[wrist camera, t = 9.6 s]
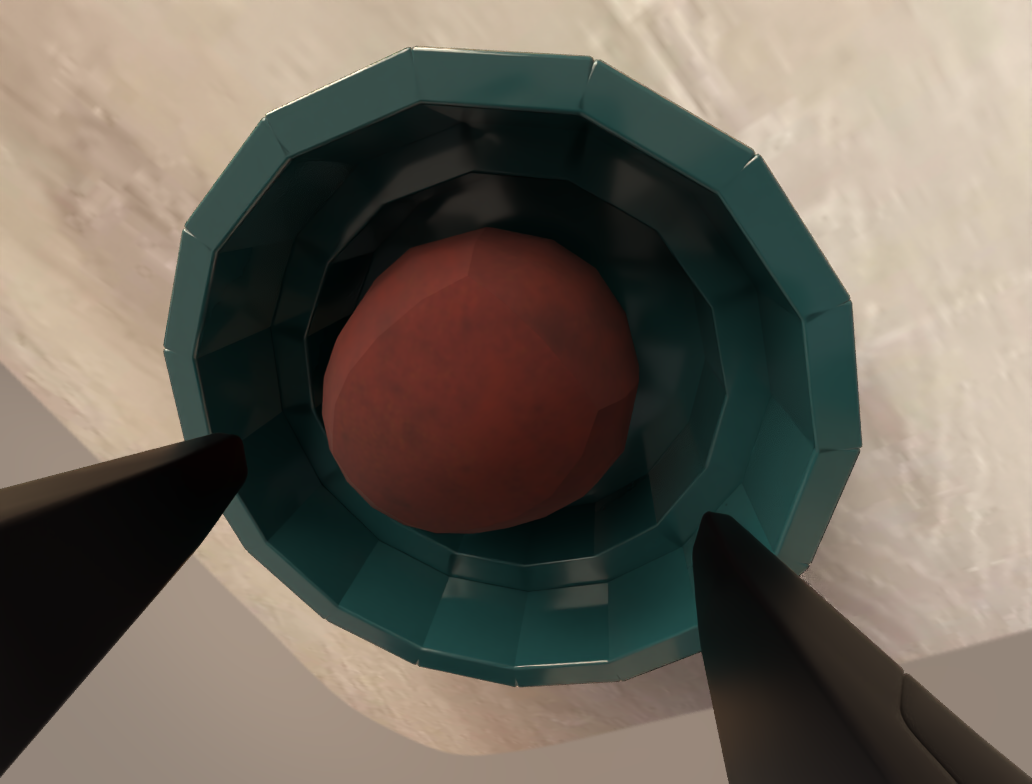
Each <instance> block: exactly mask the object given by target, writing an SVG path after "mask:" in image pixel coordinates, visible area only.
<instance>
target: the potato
mask: <svg viewBox="0 0 1032 784" xmlns="http://www.w3.org/2000/svg"><path fill="white" fill-rule="evenodd" d="M638 384H639V364H638V360H637V356H636V352H635V348H634V344H633V340H632V336H631V332H630V328H629V324H628V321H627V317H626V313H625V311H624V310H623V308H622V307H621V305H620V304H619V302H618V301H617V299H616V298H615V296H614V295H613V293H612V292H611V290H610V289H609V287H608V286H607V284H606V283H605V281H604V280H603V278H602V277H601V275H600V274H599V272H598V271H597V269H596V268H595V267H593V266H592V265H590V264H589V263H587V262H586V261H584V260H583V259H581V258H580V257H578V256H577V255H575V254H574V253H572V252H571V251H569V250H568V249H566V248H565V247H563V246H562V245H560V244H559V243H557V242H556V241H554V240H552V239H547V238H542V237H538V236H533V235H528V234H523V233H518V232H513V231H508V230H503V229H498V228H491V227H484V228H481V229H477V230H474V231H470V232H466V233H463V234H459V235H455V236H452V237H448V238H444V239H441V240H437V241H433V242H430V243H426V244H423V245H419V246H415V247H412V248H410V249H409V250H408V251H406V252H405V253H404V254H403V255H402V256H401V257H400V258H399V259H397V260H396V261H395V262H394V263H393V264H392V265H391V266H389V267H388V268H387V269H386V270H385V271H384V272H383V273H382V274H380V275H379V276H378V277H377V278H376V279H375V280H374V282H373V283H372V285H371V287H370V288H369V290H368V291H367V293H366V294H365V296H364V297H363V299H362V300H361V302H360V303H359V305H358V306H357V308H356V309H355V311H354V312H353V314H352V315H351V317H350V318H349V320H348V321H347V323H346V324H345V326H344V328H343V329H342V331H341V332H340V334H339V336H338V337H337V339H336V342H335V345H334V348H333V351H332V354H331V357H330V360H329V363H328V366H327V369H326V372H325V375H324V384H323V403H322V416H323V421H324V425H325V430H326V435H327V439H328V444H329V449H330V451H331V453H332V455H333V457H334V458H335V460H336V462H337V464H338V466H339V468H340V470H341V471H342V473H343V475H344V477H345V479H346V481H347V482H348V483H349V484H350V485H351V486H352V487H353V488H354V489H355V490H356V491H357V492H358V493H359V494H360V495H361V496H362V498H363V499H364V500H365V501H366V502H367V503H368V504H369V505H370V506H371V507H372V508H374V509H376V510H378V511H380V512H381V513H383V514H385V515H387V516H389V517H390V518H392V519H394V520H396V521H398V522H399V523H401V524H403V525H406V526H410V527H414V528H418V529H422V530H426V531H430V532H433V533H460V534H474V533H481V532H487V531H493V530H499V529H505V528H510V527H513V526H517V525H520V524H523V523H527V522H530V521H534V520H537V519H540V518H544V517H546V516H548V515H550V514H552V513H554V512H555V511H557V510H559V509H561V508H563V507H565V506H567V505H568V504H570V503H572V502H574V501H576V500H578V499H580V498H581V497H583V496H584V495H585V494H586V493H587V492H588V491H589V490H590V489H591V488H592V487H593V486H594V485H596V484H597V482H598V481H599V480H600V479H601V478H602V476H603V475H604V474H605V473H606V472H607V471H608V469H609V468H610V467H611V466H612V465H613V463H614V462H615V461H616V460H617V459H618V457H619V456H620V455H621V454H622V453H623V451H624V449H625V444H626V440H627V435H628V430H629V426H630V421H631V416H632V412H633V407H634V402H635V398H636V393H637V388H638Z"/></svg>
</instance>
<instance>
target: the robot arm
mask: <svg viewBox="0 0 1032 784" xmlns="http://www.w3.org/2000/svg"><path fill="white" fill-rule="evenodd" d="M247 475H248V467H247V462H246V456H245V451H244V445H243V441H242V439H241V438H240V437H239V436H237V435H233V434H227V433H213V434H210V435H206V436H202V437H198V438H194V439H190V440H187V441H183V442H179V443H175V444H171V445H167V446H164V447H160V448H156V449H152V450H148V451H144V452H141V453H137V454H133V455H129V456H125V457H121V458H118V459H114V460H110V461H106V462H102V463H98V464H95V465H91V466H87V467H83V468H79V469H76V470H72V471H68V472H64V473H60V474H56V475H52V476H48V477H45V478H41V479H37V480H33V481H29V482H26V483H22V484H18V485H14V486H10V487H7V488H2V489H0V777H1V776H2V775H3V774H4V773H5V772H6V770H7V769H8V768H9V767H10V765H12V763H13V762H14V761H15V760H16V759H17V758H18V756H19V755H20V754H21V753H22V752H23V751H24V750H25V748H26V747H27V746H28V745H29V744H30V742H31V741H32V740H33V739H34V738H35V737H36V736H37V734H38V733H39V732H40V731H41V730H42V729H43V727H44V726H45V725H46V724H47V723H48V722H49V720H50V719H51V718H52V717H53V716H54V715H55V713H56V712H57V711H58V710H59V709H60V708H61V707H62V705H63V704H64V703H65V702H66V701H67V699H68V698H69V697H70V696H71V695H72V694H73V693H74V691H75V690H76V689H77V688H78V687H79V685H80V684H81V683H82V682H83V681H84V680H85V679H86V677H87V676H88V675H89V674H90V672H91V671H92V670H93V669H94V668H95V667H96V666H97V665H98V663H99V662H100V661H101V660H102V659H103V658H104V656H105V655H106V654H107V653H108V652H109V651H110V650H111V648H112V647H113V646H114V645H115V644H116V643H117V641H118V640H119V639H120V638H121V637H122V636H123V634H124V633H125V632H126V631H127V630H128V629H129V627H130V626H131V625H132V624H133V623H134V622H135V620H136V619H137V618H138V617H139V616H140V615H141V614H142V612H143V611H144V610H145V609H146V607H148V605H149V604H150V603H151V602H152V601H153V600H154V598H155V597H156V596H157V595H158V594H159V592H160V591H161V590H162V589H163V588H164V587H165V586H166V584H167V583H168V582H169V581H170V580H171V578H172V577H173V576H174V575H175V574H176V573H177V572H178V571H179V569H180V568H181V567H182V566H183V564H185V562H186V561H187V560H188V559H189V558H190V557H191V555H192V554H193V553H194V552H195V551H196V549H197V548H198V547H199V546H200V544H201V543H202V542H203V540H204V539H205V538H206V536H207V535H208V534H209V532H210V531H211V529H212V528H213V527H214V525H215V524H216V522H217V521H218V520H219V518H220V517H221V515H222V514H223V513H224V511H225V510H226V508H227V507H228V505H229V504H230V503H231V501H232V500H233V498H234V497H235V496H236V494H237V493H238V491H239V490H240V489H241V487H242V486H243V484H244V483H245V481H246V479H247ZM692 564H693V575H694V586H695V597H696V609H697V620H698V630H699V639H700V646H701V651H702V657H703V661H704V666H705V671H706V676H707V681H708V685H709V690H710V695H711V700H712V705H713V709H714V714H715V719H716V724H717V729H718V733H719V738H720V742H721V747H722V753H723V757H724V762H725V767H726V772H727V777H728V781H729V784H1032V778H1031V777H1030V776H1028V775H1027V774H1026V773H1025V772H1023V771H1022V770H1021V769H1020V768H1019V767H1017V766H1016V765H1015V764H1014V763H1012V762H1011V761H1010V760H1009V759H1008V758H1006V757H1005V756H1004V755H1003V754H1001V753H1000V752H999V751H998V750H997V749H995V748H994V747H993V746H992V745H990V744H989V743H988V742H987V741H986V740H984V739H983V738H982V737H980V736H979V735H978V734H977V733H976V732H975V731H974V730H973V729H971V728H970V727H969V726H968V725H967V724H966V723H964V722H963V721H962V720H961V719H960V718H959V717H957V716H956V715H955V714H954V713H953V712H952V711H950V710H949V709H948V708H947V707H946V706H945V705H943V704H942V703H941V702H940V701H939V700H938V699H937V698H935V697H934V696H933V695H932V694H931V693H930V692H929V691H928V690H926V689H925V688H924V687H923V686H922V685H921V684H920V683H919V682H917V681H916V680H915V679H914V678H913V677H912V676H911V675H909V674H907V673H906V674H904V671H903V669H902V668H901V667H900V666H899V665H898V664H897V663H896V662H895V661H894V660H892V659H891V658H890V657H889V656H888V655H887V654H886V653H885V652H883V651H882V650H881V649H880V648H879V647H878V646H877V645H876V644H874V643H873V642H872V641H871V640H870V639H869V638H868V637H867V636H865V635H864V634H863V633H862V632H861V631H860V630H859V629H858V628H857V627H855V626H854V625H853V624H852V623H851V622H850V621H849V620H848V619H846V618H845V617H844V616H843V615H842V614H841V613H840V612H839V611H837V610H836V609H835V608H834V607H833V606H832V605H831V604H830V603H828V602H827V601H826V600H825V599H824V598H823V597H822V596H821V595H819V594H818V593H817V592H816V591H815V590H814V589H813V588H812V587H810V586H809V585H808V584H807V583H806V582H805V581H804V580H803V579H801V578H800V577H799V576H798V575H797V574H796V573H795V572H794V571H792V570H791V569H790V568H789V567H788V566H787V565H786V564H785V563H783V562H782V561H781V560H780V559H779V558H778V557H777V556H776V555H774V554H773V553H772V552H771V551H770V550H769V549H768V548H767V547H765V546H764V545H763V544H762V543H761V542H760V541H759V540H758V539H756V538H755V537H754V536H753V535H752V534H751V533H750V532H749V531H747V530H746V529H745V528H744V527H743V526H742V525H741V524H740V523H738V522H737V521H736V520H735V519H734V518H733V517H731V516H730V515H728V514H723V513H716V512H710V511H708V512H706V513H704V515H703V516H702V519H701V522H700V526H699V529H698V533H697V536H696V539H695V543H694V546H693V552H692Z"/></svg>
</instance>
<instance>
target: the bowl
mask: <svg viewBox="0 0 1032 784" xmlns="http://www.w3.org/2000/svg"><path fill="white" fill-rule="evenodd" d="M484 227H491V228H498V229H503V230H508V231H513V232H518V233H523V234H528V235H533V236H538V237H542V238H547V239H552V240H554V241H556V242H557V243H559V244H560V245H562V246H563V247H565V248H566V249H568V250H569V251H571V252H572V253H574V254H575V255H577V256H578V257H580V258H581V259H583V260H584V261H586V262H587V263H589V264H590V265H592V266H593V267H595V268H596V269H597V271H598V272H599V274H600V275H601V277H602V278H603V280H604V281H605V283H606V284H607V286H608V287H609V289H610V290H611V292H612V293H613V295H614V296H615V298H616V299H617V301H618V302H619V304H620V305H621V307H622V308H623V310H624V311H625V313H626V317H627V321H628V324H629V328H630V332H631V336H632V340H633V344H634V348H635V352H636V356H637V360H638V364H639V384H638V388H637V393H636V398H635V402H634V407H633V412H632V416H631V421H630V426H629V430H628V435H627V440H626V444H625V449H624V451H623V453H622V454H621V455H620V456H619V457H618V459H617V460H616V461H615V462H614V463H613V465H612V466H611V467H610V468H609V469H608V471H607V472H606V473H605V474H604V475H603V476H602V478H601V479H600V480H599V481H598V482H597V484H596V485H594V486H593V487H592V488H591V489H590V490H589V491H588V492H587V493H586V494H585V495H584V496H583V497H581V498H580V499H578V500H576V501H574V502H572V503H570V504H568V505H567V506H565V507H563V508H561V509H559V510H557V511H555V512H554V513H552V514H550V515H548V516H546V517H544V518H540V519H537V520H534V521H530V522H527V523H523V524H520V525H517V526H513V527H510V528H505V529H499V530H493V531H487V532H481V533H474V534H460V533H433V532H430V531H426V530H422V529H418V528H414V527H410V526H406V525H403V524H401V523H399V522H398V521H396V520H394V519H392V518H390V517H389V516H387V515H385V514H383V513H381V512H380V511H378V510H376V509H374V508H372V507H371V506H370V505H369V504H368V503H367V502H366V501H365V500H364V499H363V498H362V496H361V495H360V494H359V493H358V492H357V491H356V490H355V489H354V488H353V487H352V486H351V485H350V484H349V483H348V482H347V481H346V479H345V477H344V475H343V473H342V471H341V470H340V468H339V466H338V464H337V462H336V460H335V458H334V457H333V455H332V453H331V451H330V449H329V444H328V439H327V435H326V430H325V425H324V421H323V416H322V403H323V384H324V375H325V372H326V369H327V366H328V363H329V360H330V357H331V354H332V351H333V348H334V345H335V342H336V339H337V337H338V336H339V334H340V332H341V331H342V329H343V328H344V326H345V324H346V323H347V321H348V320H349V318H350V317H351V315H352V314H353V312H354V311H355V309H356V308H357V306H358V305H359V303H360V302H361V300H362V299H363V297H364V296H365V294H366V293H367V291H368V290H369V288H370V287H371V285H372V283H373V282H374V280H375V279H376V278H377V277H378V276H379V275H380V274H382V273H383V272H384V271H385V270H386V269H387V268H388V267H389V266H391V265H392V264H393V263H394V262H395V261H396V260H397V259H399V258H400V257H401V256H402V255H403V254H404V253H405V252H406V251H408V250H409V249H410V248H412V247H415V246H419V245H423V244H426V243H430V242H433V241H437V240H441V239H444V238H448V237H452V236H455V235H459V234H463V233H466V232H470V231H474V230H477V229H481V228H484ZM164 348H165V349H164V351H163V352H164V356H165V361H166V365H167V369H168V373H169V377H170V382H171V386H172V390H173V394H174V398H175V403H176V407H177V411H178V415H179V419H180V424H181V428H182V432H183V436H184V440H185V441H187V440H190V439H194V438H198V437H202V436H206V435H210V434H213V433H227V434H233V435H237V436H239V437H240V438H241V439H242V441H243V445H244V451H245V456H246V462H247V467H248V475H247V479H246V481H245V483H244V484H243V486H242V487H241V489H240V490H239V491H238V493H237V494H236V496H235V497H234V498H233V500H232V501H231V503H230V504H229V505H228V507H227V508H226V510H225V511H224V513H223V515H224V516H225V518H226V519H227V521H228V523H229V524H230V526H231V527H232V529H233V531H234V532H235V534H236V535H237V537H238V538H239V540H240V542H241V543H242V545H243V546H244V548H245V549H246V550H248V553H250V554H251V555H252V556H253V557H254V558H255V559H256V560H258V561H259V562H260V563H261V564H262V565H263V566H264V567H265V568H267V569H268V570H269V571H270V572H271V573H272V574H273V575H274V576H276V577H277V578H278V579H279V580H280V581H281V582H282V583H283V584H285V585H286V586H287V587H288V588H289V589H290V590H291V591H293V592H294V593H295V594H296V595H297V596H298V597H299V598H300V599H302V600H303V601H304V602H305V603H306V604H307V605H308V606H309V607H311V608H312V609H313V610H314V611H315V612H316V613H317V614H318V615H320V616H321V617H322V618H323V619H326V620H327V621H328V622H330V623H332V624H334V625H336V626H338V627H340V628H342V629H344V630H346V631H348V632H350V633H352V634H354V635H356V636H358V637H360V638H362V639H364V640H366V641H368V642H370V643H372V644H374V645H376V646H378V647H380V648H382V649H384V650H386V651H388V652H390V653H392V654H394V655H396V656H398V657H400V658H402V659H404V660H406V661H408V662H410V663H412V664H414V665H418V666H419V667H424V668H428V669H433V670H438V671H442V672H447V673H452V674H456V675H461V676H466V677H470V678H475V679H480V680H484V681H489V682H494V683H498V684H503V685H508V686H512V687H516V686H518V687H535V686H552V685H569V684H586V683H603V682H619V681H626V680H628V679H631V678H634V677H636V676H639V675H641V674H644V673H647V672H649V671H652V670H655V669H657V668H660V667H663V666H665V665H668V664H670V663H673V662H676V661H678V660H681V659H684V658H686V657H689V656H691V655H694V654H697V653H699V652H702V651H701V646H700V639H699V630H698V620H697V609H696V597H695V586H694V575H693V564H692V552H693V546H694V543H695V539H696V536H697V533H698V529H699V526H700V522H701V519H702V516H703V515H704V513H706V512H708V511H710V512H716V513H723V514H728V515H730V516H731V517H733V518H734V519H735V520H736V521H737V522H738V523H740V524H741V525H742V526H743V527H744V528H745V529H746V530H747V531H749V532H750V533H751V534H752V535H753V536H754V537H755V538H756V539H758V540H759V541H760V542H761V543H762V544H763V545H764V546H765V547H767V548H768V549H769V550H770V551H771V552H772V553H773V554H774V555H776V556H777V557H778V558H779V559H780V560H781V561H782V562H783V563H785V564H786V565H787V566H788V567H789V568H790V569H791V570H792V571H794V572H795V573H796V574H797V575H798V576H800V575H801V574H802V573H803V572H804V571H806V570H807V569H808V568H809V564H810V563H812V560H813V558H814V556H815V554H816V551H817V549H818V547H819V544H820V542H821V540H822V538H823V535H824V533H825V531H826V528H827V526H828V524H829V522H830V519H831V517H832V515H833V513H834V510H835V508H836V506H837V503H838V501H839V499H840V497H841V494H842V492H843V490H844V487H845V485H846V483H847V481H848V478H849V476H850V474H851V471H852V469H853V467H854V465H855V462H856V460H857V458H858V455H859V453H860V448H861V447H862V435H861V421H860V406H859V392H858V378H857V364H856V350H855V336H854V322H853V308H852V302H851V300H850V295H849V294H848V292H847V290H846V289H845V287H844V286H843V284H842V283H841V281H840V279H839V278H838V276H837V275H836V273H835V271H834V270H833V268H832V267H831V265H830V264H829V262H828V260H827V259H826V257H825V256H824V254H823V252H822V251H821V249H820V248H819V246H818V245H817V243H816V241H815V240H814V238H813V237H812V235H811V233H810V232H809V230H808V229H807V227H806V226H805V224H804V222H803V221H802V219H801V218H800V216H799V215H798V213H797V211H796V210H795V208H794V207H793V205H792V203H791V202H790V200H789V199H788V197H787V196H786V194H785V192H784V191H783V189H782V188H781V186H780V184H779V183H778V181H777V180H776V178H775V177H774V175H773V173H772V172H771V170H770V169H769V167H768V165H767V164H766V162H765V161H764V159H763V158H762V156H761V155H759V154H755V151H754V150H753V149H752V148H751V147H749V146H747V145H746V144H744V143H742V142H740V141H739V140H737V139H735V138H734V137H732V136H730V135H728V134H727V133H725V132H723V131H722V130H720V129H718V128H717V127H715V126H713V125H711V124H710V123H708V122H706V121H705V120H703V119H701V118H699V117H698V116H696V115H694V114H693V113H691V112H689V111H688V110H686V109H684V108H682V107H681V106H679V105H677V104H676V103H674V102H672V101H670V100H669V99H667V98H665V97H664V96H662V95H660V94H659V93H657V92H655V91H653V90H652V89H650V88H648V87H647V86H645V85H643V84H641V83H640V82H638V81H636V80H635V79H633V78H631V77H630V76H628V75H626V74H624V73H623V72H621V71H619V70H618V69H616V68H614V67H612V66H611V65H609V64H607V63H606V62H604V61H602V60H597V59H596V60H595V61H594V59H593V57H591V56H585V55H567V54H549V53H531V52H514V51H496V50H478V49H460V48H443V47H425V46H415V47H413V48H411V47H407V48H405V49H403V50H400V51H398V52H396V53H394V54H392V55H390V56H388V57H385V58H383V59H381V60H379V61H377V62H375V63H373V64H370V65H368V66H366V67H364V68H362V69H360V70H358V71H355V72H353V73H351V74H349V75H347V76H345V77H343V78H340V79H338V80H336V81H334V82H332V83H330V84H328V85H326V86H323V87H321V88H319V89H317V90H315V91H313V92H311V93H308V94H306V95H304V96H302V97H300V98H298V99H296V100H293V101H291V102H289V103H287V104H285V105H283V106H281V107H278V108H276V109H274V110H272V111H270V112H268V113H266V115H265V117H264V118H262V119H261V120H260V122H259V123H258V125H257V126H256V127H255V129H254V130H253V131H252V133H251V134H250V136H249V137H248V138H247V140H246V141H245V142H244V144H243V145H242V147H241V148H240V149H239V151H238V152H237V153H236V155H235V156H234V158H233V159H232V160H231V162H230V163H229V164H228V166H227V167H226V168H225V170H224V171H223V173H222V174H221V175H220V177H219V178H218V179H217V181H216V182H215V184H214V185H213V186H212V188H211V189H210V190H209V192H208V193H207V195H206V196H205V197H204V199H203V200H202V201H201V203H200V204H199V205H198V207H197V208H196V210H195V211H194V212H193V214H192V215H191V216H190V218H189V219H188V221H187V222H186V223H185V229H183V231H182V235H181V241H180V247H179V253H178V259H177V266H176V272H175V278H174V284H173V290H172V296H171V302H170V308H169V314H168V320H167V326H166V332H165V339H164Z"/></svg>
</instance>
